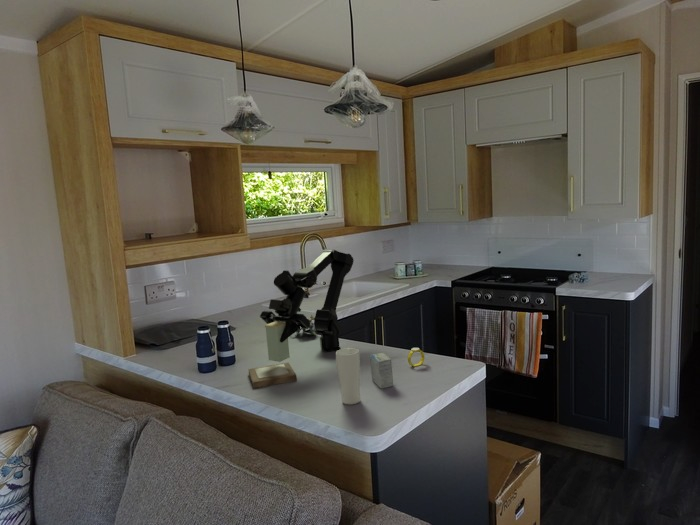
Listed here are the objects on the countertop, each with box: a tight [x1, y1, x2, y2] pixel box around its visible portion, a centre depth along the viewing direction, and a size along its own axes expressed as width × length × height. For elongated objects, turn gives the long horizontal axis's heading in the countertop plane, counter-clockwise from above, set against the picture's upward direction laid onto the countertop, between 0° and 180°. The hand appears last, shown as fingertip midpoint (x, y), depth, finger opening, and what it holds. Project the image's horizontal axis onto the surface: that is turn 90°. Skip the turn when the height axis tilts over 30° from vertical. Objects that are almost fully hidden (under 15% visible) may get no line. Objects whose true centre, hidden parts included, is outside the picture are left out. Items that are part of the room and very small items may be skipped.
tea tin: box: [264, 321, 290, 363], centre depth 180 cm, size 5×5×12 cm
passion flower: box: [295, 314, 317, 337], centre depth 227 cm, size 11×11×12 cm
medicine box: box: [369, 352, 394, 389], centre depth 164 cm, size 8×4×9 cm, turn 17°
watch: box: [407, 347, 426, 368], centre depth 179 cm, size 6×3×6 cm, turn 118°
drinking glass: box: [335, 347, 361, 405], centre depth 152 cm, size 7×7×15 cm
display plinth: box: [248, 362, 298, 389], centre depth 178 cm, size 14×14×2 cm
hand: (274, 341), depth 179 cm, fingers closed on tea tin, 5 cm apart
